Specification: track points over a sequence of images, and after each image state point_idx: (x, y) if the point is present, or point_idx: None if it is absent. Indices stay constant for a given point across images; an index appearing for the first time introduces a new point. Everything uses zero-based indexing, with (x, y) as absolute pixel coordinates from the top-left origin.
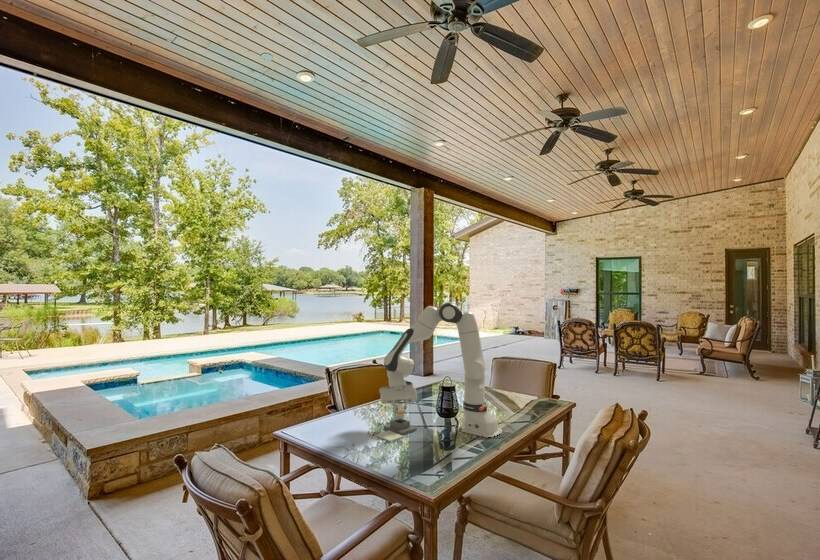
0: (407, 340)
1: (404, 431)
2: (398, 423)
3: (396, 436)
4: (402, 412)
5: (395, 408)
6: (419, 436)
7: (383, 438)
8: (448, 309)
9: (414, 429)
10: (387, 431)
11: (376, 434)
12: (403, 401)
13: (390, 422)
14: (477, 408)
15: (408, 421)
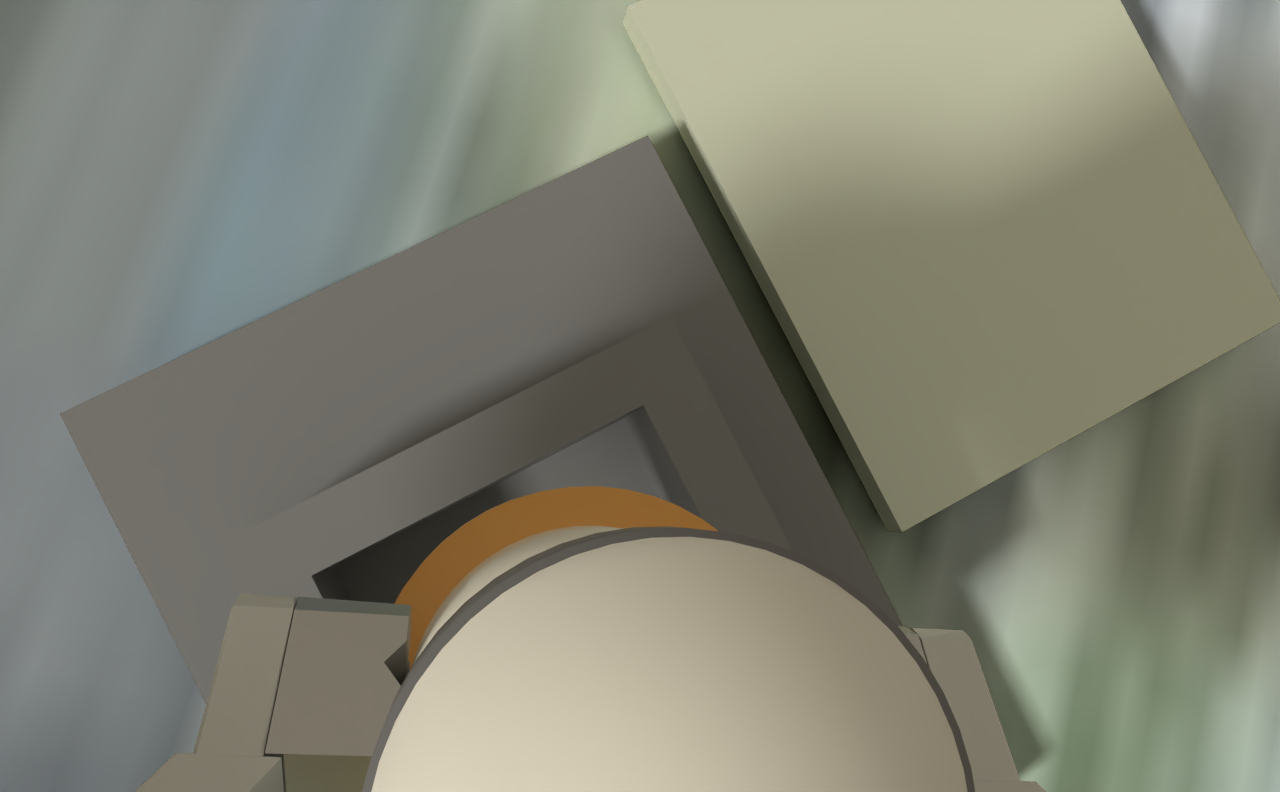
0: None
1: (536, 213)
2: (687, 429)
3: (817, 37)
4: (547, 492)
5: (947, 630)
6: (163, 10)
7: (1138, 62)
8: None
9: (157, 377)
10: (962, 451)
11: (1274, 316)
12: (485, 604)
13: None
14: None
15: (271, 542)
